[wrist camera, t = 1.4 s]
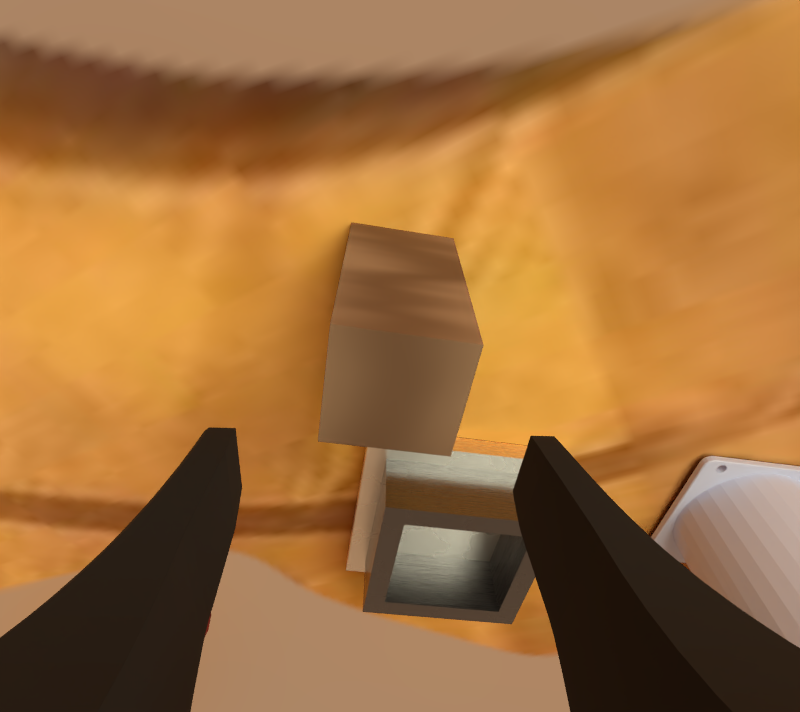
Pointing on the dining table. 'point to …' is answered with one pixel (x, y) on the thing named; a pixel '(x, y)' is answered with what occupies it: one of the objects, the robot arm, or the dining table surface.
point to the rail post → (399, 344)
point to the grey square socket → (441, 533)
